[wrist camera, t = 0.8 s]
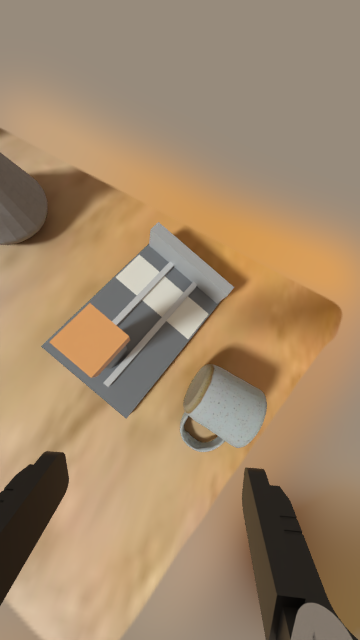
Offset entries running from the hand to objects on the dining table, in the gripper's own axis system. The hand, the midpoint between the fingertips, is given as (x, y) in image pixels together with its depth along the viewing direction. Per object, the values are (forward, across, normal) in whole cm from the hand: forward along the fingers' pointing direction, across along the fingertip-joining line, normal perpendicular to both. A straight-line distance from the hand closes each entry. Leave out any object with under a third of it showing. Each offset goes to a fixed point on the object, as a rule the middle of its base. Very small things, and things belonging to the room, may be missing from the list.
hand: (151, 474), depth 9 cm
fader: (+18, +9, +2) cm, 21 cm away
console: (+22, +6, -1) cm, 23 cm away
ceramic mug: (+20, -4, +11) cm, 23 cm away
